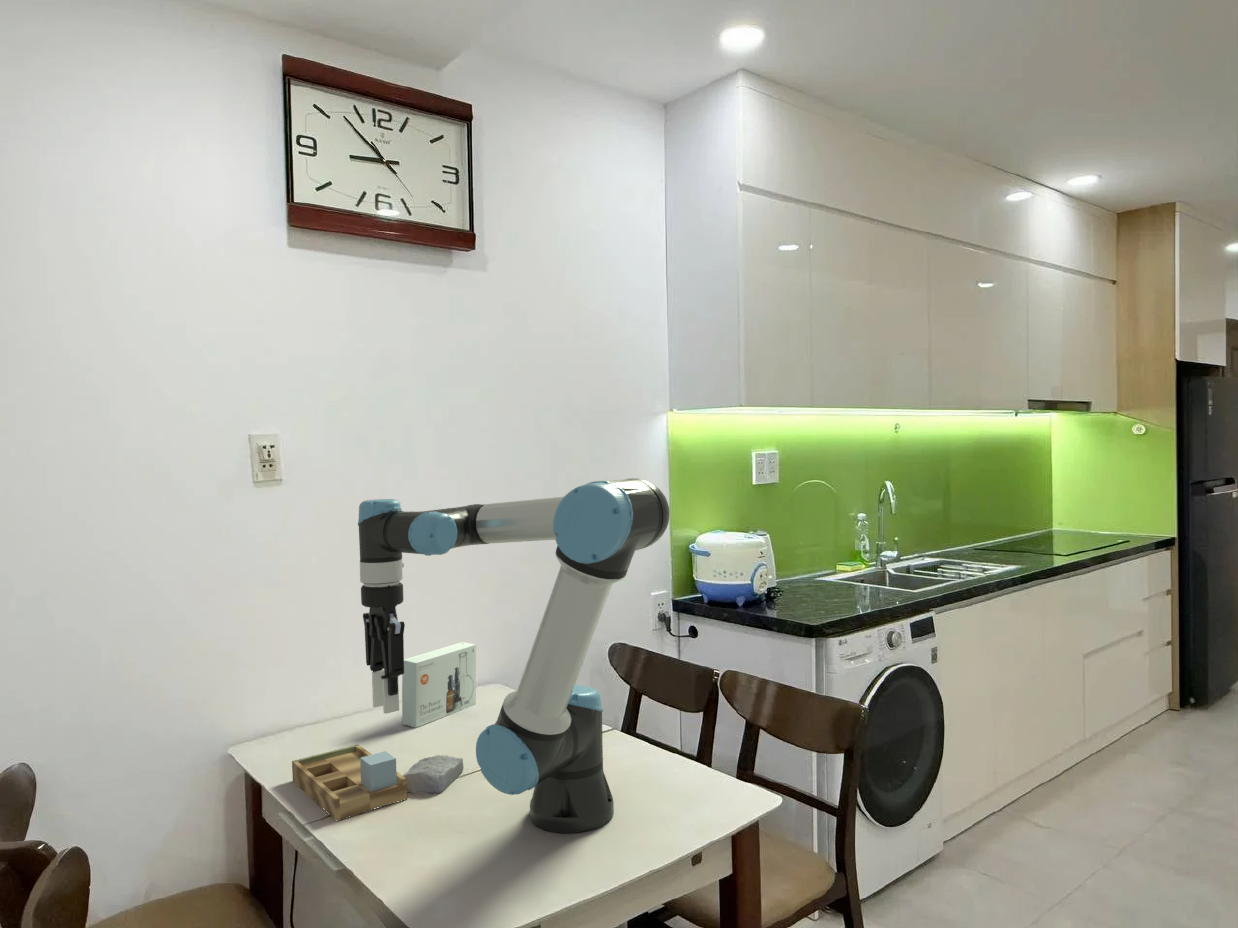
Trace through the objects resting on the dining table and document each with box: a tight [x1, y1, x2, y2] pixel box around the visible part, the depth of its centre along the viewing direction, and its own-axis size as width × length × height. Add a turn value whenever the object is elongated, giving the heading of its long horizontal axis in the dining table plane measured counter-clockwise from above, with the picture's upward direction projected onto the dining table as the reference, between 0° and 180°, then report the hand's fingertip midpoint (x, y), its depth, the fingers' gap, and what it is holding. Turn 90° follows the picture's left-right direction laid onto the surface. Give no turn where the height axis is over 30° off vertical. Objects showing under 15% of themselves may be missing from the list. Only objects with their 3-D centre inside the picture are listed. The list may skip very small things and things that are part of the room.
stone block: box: [401, 754, 465, 794], centre depth 169 cm, size 12×5×10 cm
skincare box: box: [401, 641, 477, 729], centre depth 209 cm, size 21×6×16 cm, turn 147°
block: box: [360, 750, 397, 792], centre depth 160 cm, size 5×5×5 cm
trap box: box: [291, 744, 408, 821], centre depth 165 cm, size 24×14×4 cm, turn 39°
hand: (386, 708), depth 156 cm, fingers open, 4 cm apart
